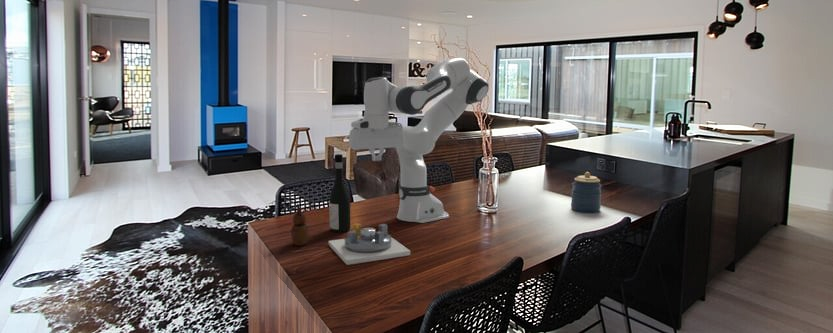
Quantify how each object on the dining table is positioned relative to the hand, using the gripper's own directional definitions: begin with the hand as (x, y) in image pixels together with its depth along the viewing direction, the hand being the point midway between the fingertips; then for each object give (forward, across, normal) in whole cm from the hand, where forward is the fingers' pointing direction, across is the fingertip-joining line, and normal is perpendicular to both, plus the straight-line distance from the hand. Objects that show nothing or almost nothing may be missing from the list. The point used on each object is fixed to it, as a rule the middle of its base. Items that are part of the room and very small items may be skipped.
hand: (376, 160), depth 180 cm
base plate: (+29, +8, +12) cm, 32 cm away
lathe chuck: (+27, +8, +12) cm, 31 cm away
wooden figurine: (+29, +28, -5) cm, 41 cm away
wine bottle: (+29, +9, -15) cm, 34 cm away
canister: (+29, -102, +3) cm, 106 cm away
